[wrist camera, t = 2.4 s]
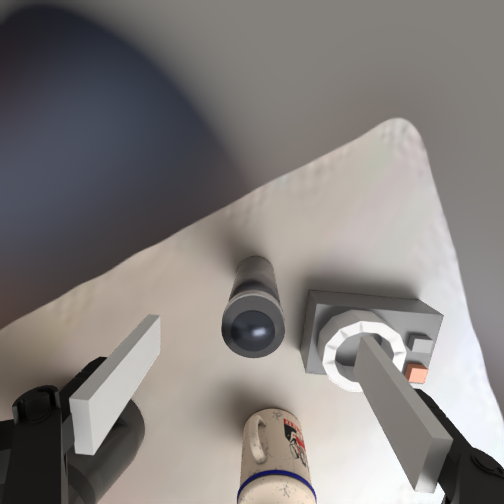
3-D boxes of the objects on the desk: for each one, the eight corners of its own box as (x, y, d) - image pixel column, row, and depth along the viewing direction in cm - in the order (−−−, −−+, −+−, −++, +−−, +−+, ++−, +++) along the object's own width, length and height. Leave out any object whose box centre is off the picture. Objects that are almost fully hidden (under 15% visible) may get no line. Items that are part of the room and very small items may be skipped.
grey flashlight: (235, 289, 31) (217, 357, 18) (238, 253, 29) (221, 298, 17) (272, 293, 30) (282, 363, 18) (276, 257, 29) (290, 304, 17)
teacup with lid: (311, 444, 36) (336, 558, 25) (256, 461, 37) (255, 578, 26) (282, 381, 34) (294, 476, 22) (223, 401, 35) (206, 502, 23)
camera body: (300, 351, 32) (310, 389, 26) (309, 289, 30) (322, 314, 24) (403, 361, 32) (438, 401, 26) (419, 300, 30) (462, 327, 24)
